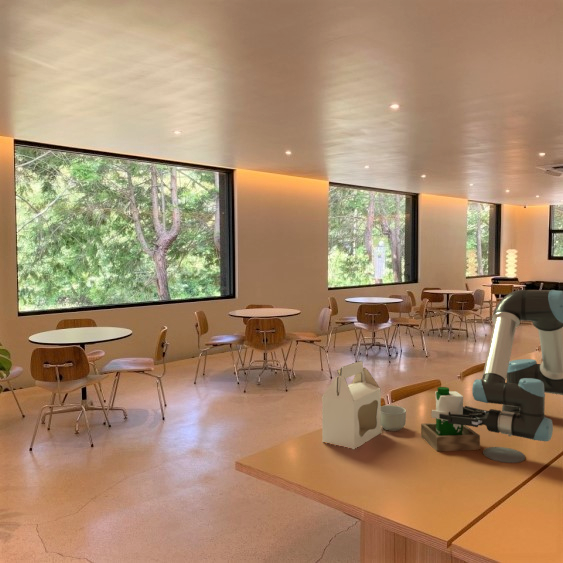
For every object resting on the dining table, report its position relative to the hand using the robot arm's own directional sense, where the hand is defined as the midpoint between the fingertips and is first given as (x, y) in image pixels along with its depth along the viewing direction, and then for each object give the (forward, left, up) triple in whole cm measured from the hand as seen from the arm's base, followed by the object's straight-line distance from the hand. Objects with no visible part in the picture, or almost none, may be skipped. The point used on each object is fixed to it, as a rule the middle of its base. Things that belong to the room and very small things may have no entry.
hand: (437, 410), depth 190 cm
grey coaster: (-16, +17, -11) cm, 26 cm away
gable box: (+30, -7, -11) cm, 33 cm away
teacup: (+14, -16, -11) cm, 24 cm away
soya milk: (-3, +3, -11) cm, 12 cm away
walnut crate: (-3, +3, -11) cm, 12 cm away
